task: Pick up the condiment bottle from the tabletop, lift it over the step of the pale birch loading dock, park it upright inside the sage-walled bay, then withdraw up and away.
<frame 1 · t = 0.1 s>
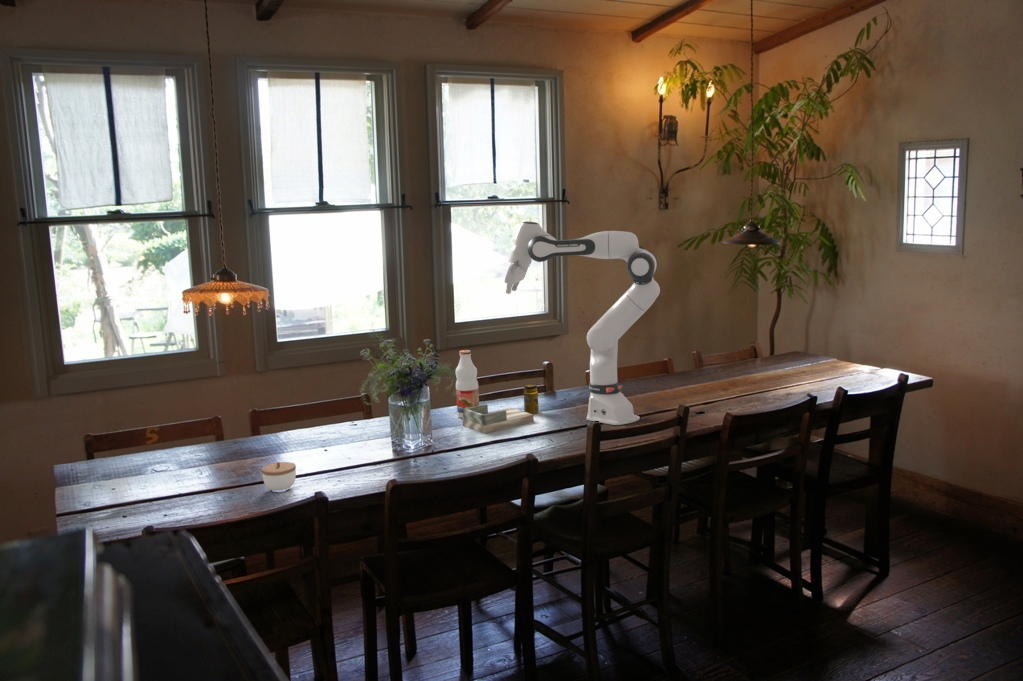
hand: (510, 291, 350), 52 cm above the table, tool tilted 20°, fingers open, 8 cm apart
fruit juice: (468, 416, 360), on the table
dock: (498, 423, 346), on the table
lidded jar: (280, 490, 278), on the table
condiment: (529, 413, 360), on the table
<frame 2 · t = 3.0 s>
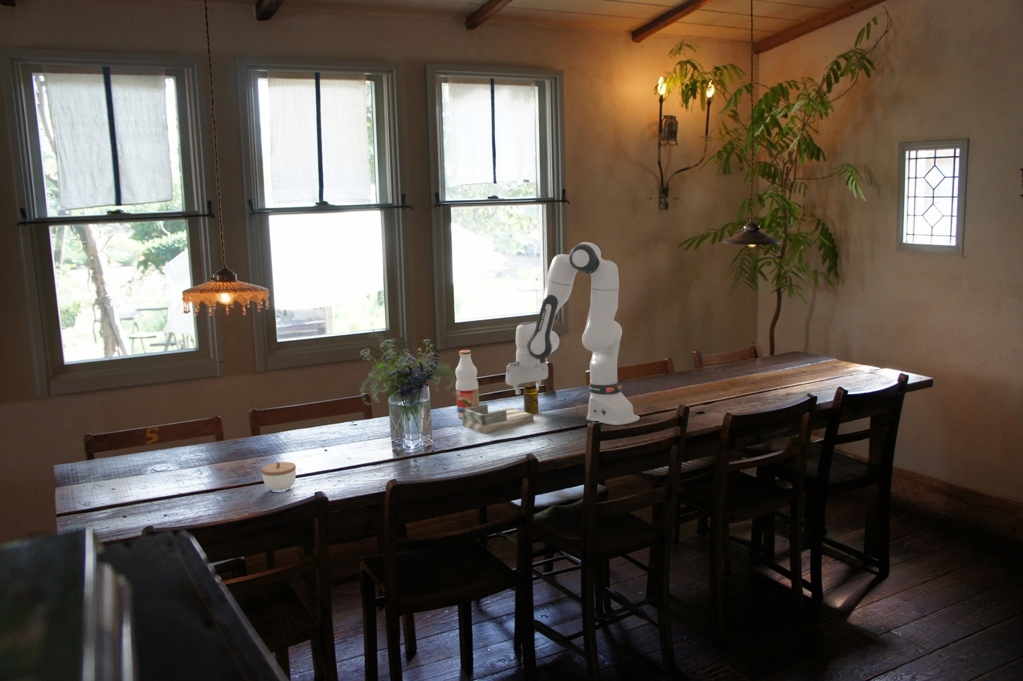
hand: (527, 392, 359), 9 cm above the table, tool pointing down, fingers open, 8 cm apart
condiment: (529, 413, 360), on the table, touching gripper
everything else where it was.
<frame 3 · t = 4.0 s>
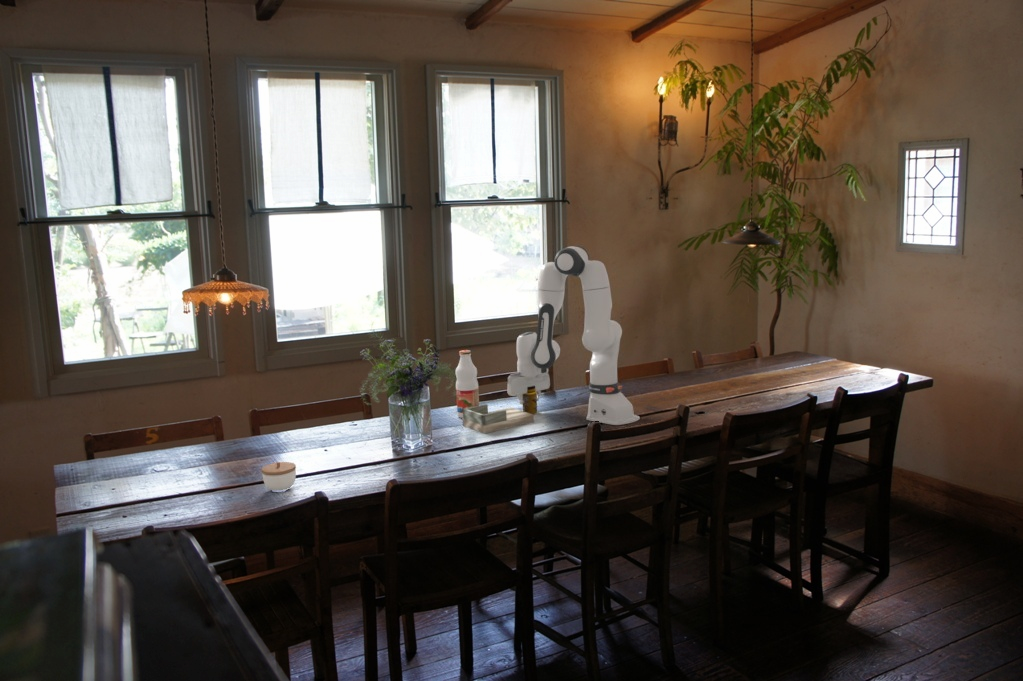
hand: (529, 402, 359), 5 cm above the table, tool pointing down, fingers closed on condiment, 6 cm apart
condiment: (528, 414, 360), on the table, touching gripper
everything else where it was.
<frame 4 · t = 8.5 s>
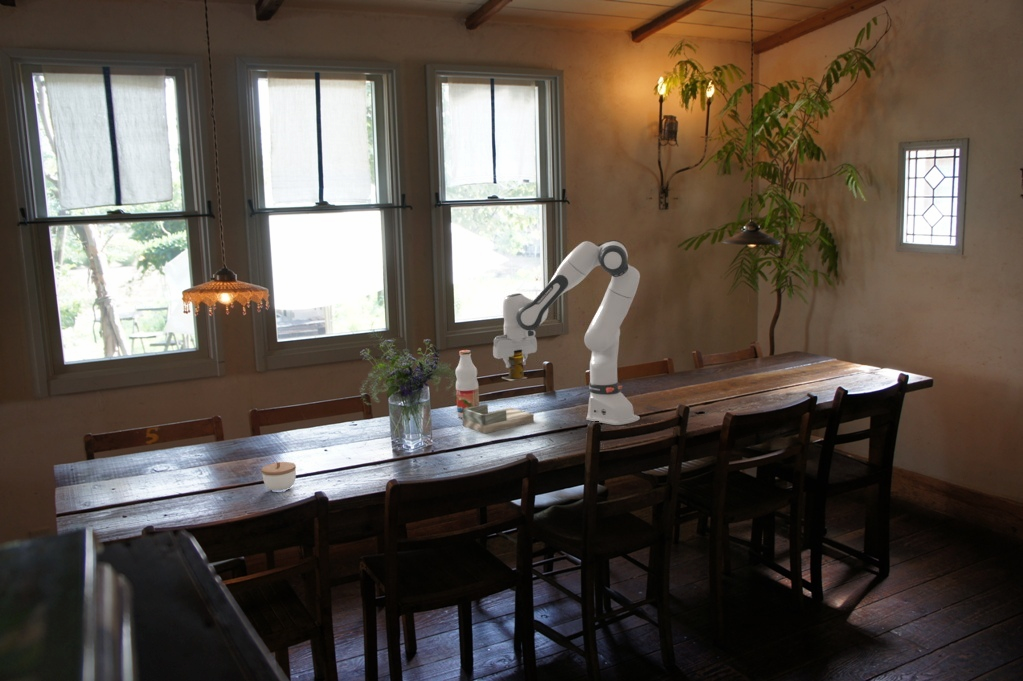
hand: (515, 366, 352), 21 cm above the table, tool pointing down, fingers closed on condiment, 6 cm apart
condiment: (514, 378, 352), point 16 cm above the table, touching gripper
everything else where it was.
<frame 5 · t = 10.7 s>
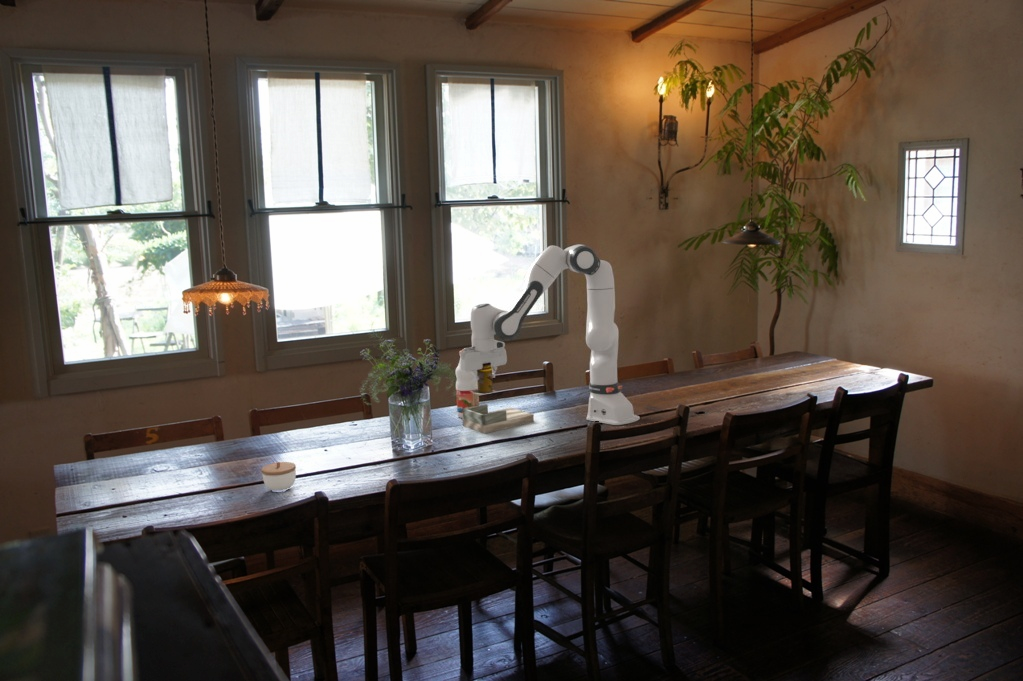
hand: (484, 379, 340), 19 cm above the table, tool pointing down, fingers closed on condiment, 6 cm apart
condiment: (483, 392, 340), point 14 cm above the table, touching gripper
everything else where it was.
when the fingers open (9 cm above the table, at t = 12.9 s): condiment stays where it is, resting on dock.
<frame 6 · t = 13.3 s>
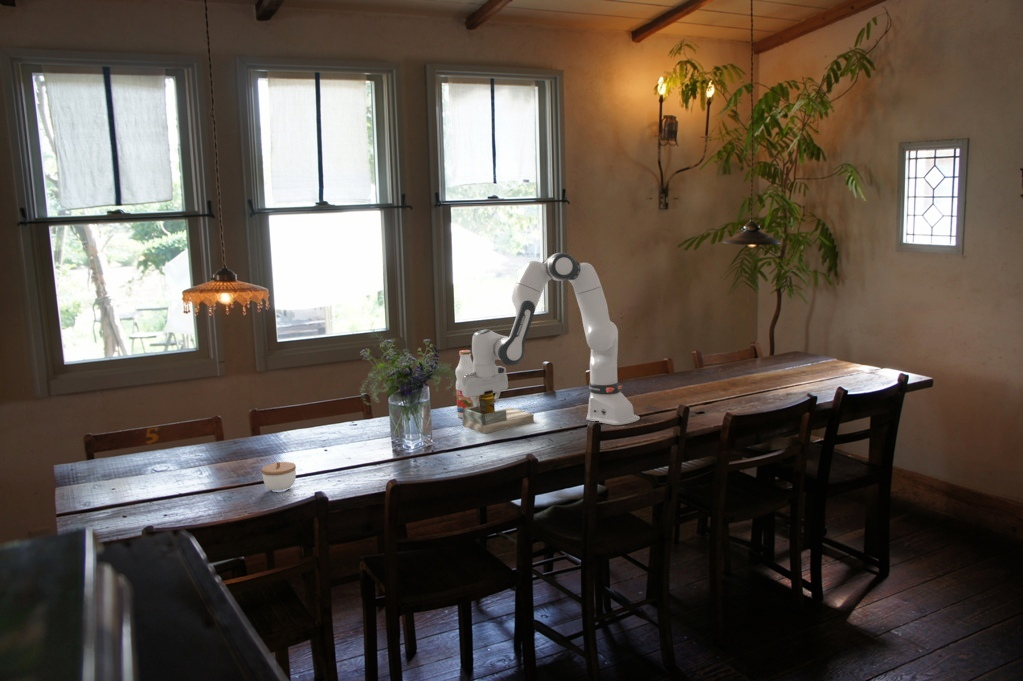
hand: (486, 404, 341), 9 cm above the table, tool pointing down, fingers open, 8 cm apart
condiment: (485, 419, 342), point 3 cm above the table, touching dock
everything else where it was.
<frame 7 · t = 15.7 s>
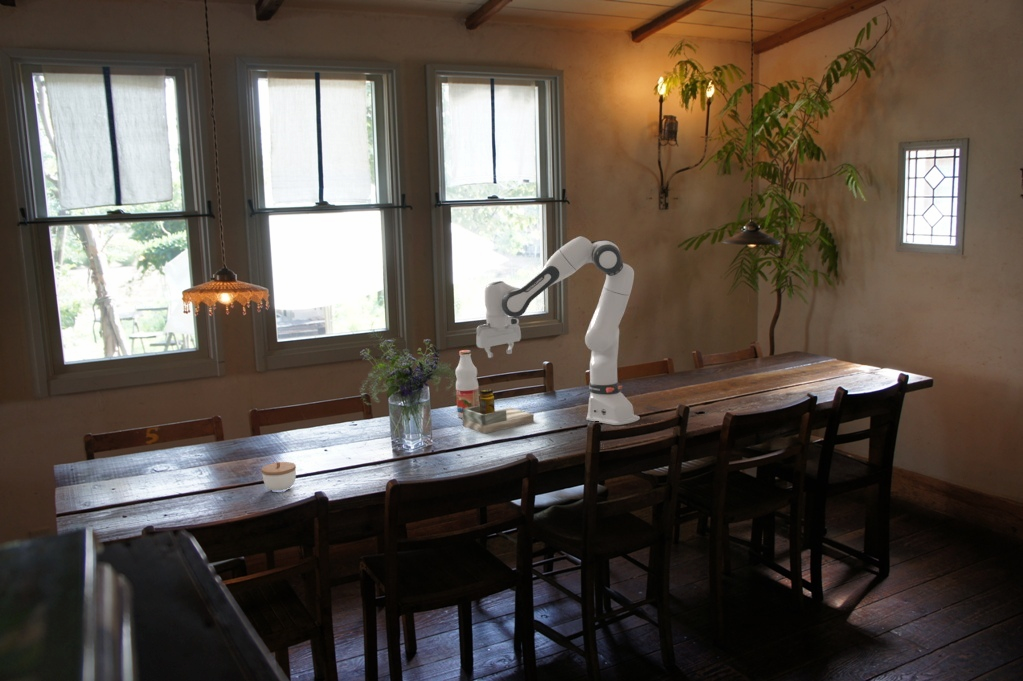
hand: (500, 355, 346), 27 cm above the table, tool pointing down, fingers open, 8 cm apart
nothing on the table moved.
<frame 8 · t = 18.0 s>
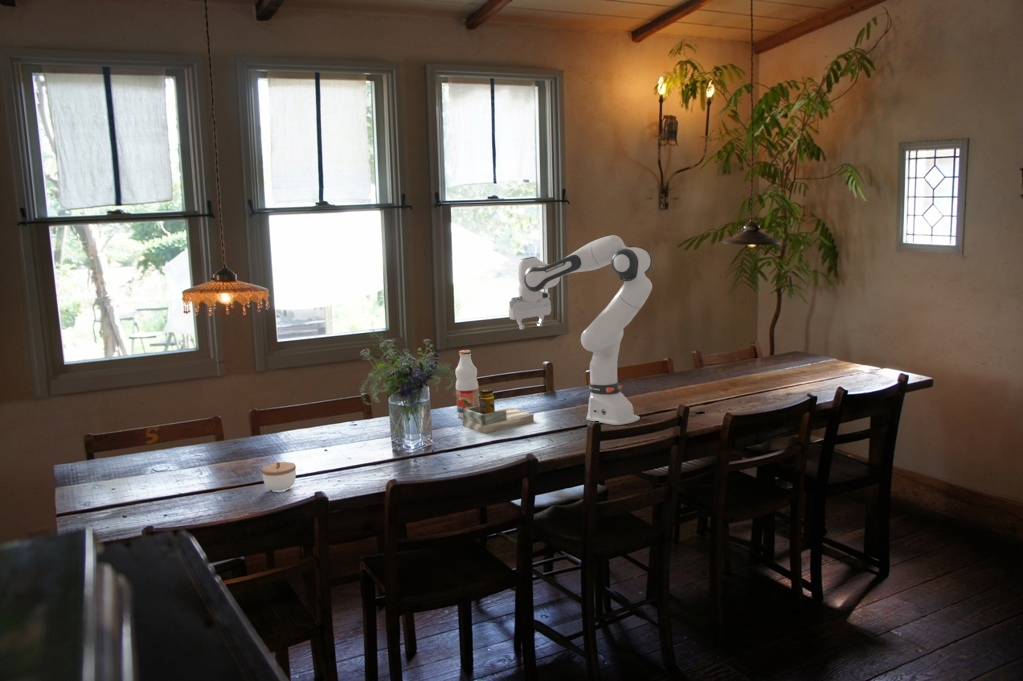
hand: (530, 327, 363), 35 cm above the table, tool pointing down, fingers open, 8 cm apart
nothing on the table moved.
at the end: condiment inside the target area (0.1 cm from its centre), point 2.8 cm above the table; condiment tilted 0°; the gripper is holding nothing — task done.
